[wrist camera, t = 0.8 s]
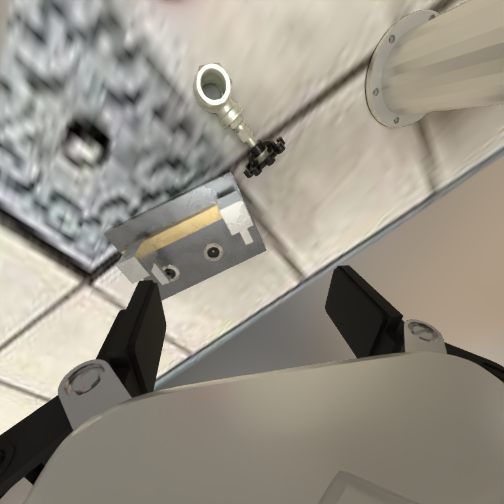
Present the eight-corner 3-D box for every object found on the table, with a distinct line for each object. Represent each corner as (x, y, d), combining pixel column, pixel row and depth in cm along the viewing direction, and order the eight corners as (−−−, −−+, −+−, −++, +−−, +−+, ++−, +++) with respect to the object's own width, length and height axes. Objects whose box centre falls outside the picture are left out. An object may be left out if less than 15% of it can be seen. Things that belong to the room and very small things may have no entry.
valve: (180, 100, 27) (244, 174, 33) (174, 90, 22) (253, 182, 27) (218, 57, 26) (277, 142, 32) (222, 35, 21) (294, 143, 26)
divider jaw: (235, 188, 32) (242, 199, 26) (256, 235, 36) (266, 253, 30) (216, 197, 32) (219, 210, 26) (239, 243, 36) (246, 262, 30)
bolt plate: (229, 170, 32) (239, 181, 24) (264, 246, 39) (280, 273, 31) (107, 230, 33) (78, 259, 25) (163, 295, 40) (153, 334, 32)
